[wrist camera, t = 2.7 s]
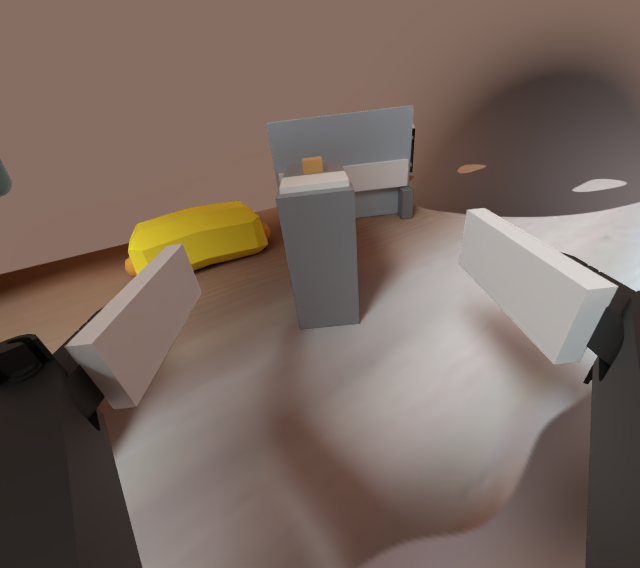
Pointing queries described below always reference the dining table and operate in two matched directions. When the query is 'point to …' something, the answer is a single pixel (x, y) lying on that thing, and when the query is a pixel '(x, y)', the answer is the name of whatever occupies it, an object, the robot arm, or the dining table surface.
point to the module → (320, 242)
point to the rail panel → (355, 154)
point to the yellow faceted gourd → (199, 235)
